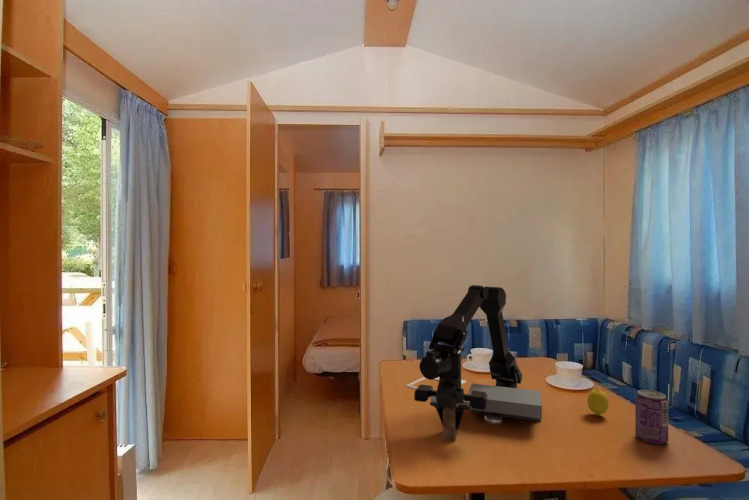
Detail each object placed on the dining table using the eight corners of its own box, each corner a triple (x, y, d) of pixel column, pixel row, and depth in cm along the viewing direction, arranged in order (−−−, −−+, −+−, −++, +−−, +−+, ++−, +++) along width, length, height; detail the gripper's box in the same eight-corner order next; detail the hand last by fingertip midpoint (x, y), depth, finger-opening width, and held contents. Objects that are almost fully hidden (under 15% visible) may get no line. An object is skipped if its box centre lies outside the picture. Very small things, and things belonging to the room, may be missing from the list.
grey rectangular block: (540, 416, 121) (540, 390, 121) (541, 433, 110) (541, 405, 110) (471, 407, 128) (471, 383, 128) (466, 422, 117) (466, 396, 116)
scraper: (464, 414, 122) (463, 388, 122) (454, 441, 105) (454, 411, 105) (454, 413, 123) (453, 387, 123) (442, 439, 106) (442, 409, 106)
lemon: (607, 413, 122) (607, 387, 122) (609, 421, 117) (609, 393, 117) (586, 410, 125) (586, 384, 125) (587, 417, 120) (587, 390, 120)
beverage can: (662, 435, 108) (662, 390, 108) (672, 448, 101) (672, 400, 101) (632, 431, 111) (632, 387, 110) (639, 443, 104) (639, 397, 104)
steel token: (493, 416, 121) (493, 411, 121) (505, 423, 117) (505, 417, 117) (480, 419, 119) (480, 414, 119) (492, 426, 115) (492, 421, 115)
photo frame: (466, 380, 151) (441, 393, 138) (466, 383, 151) (441, 397, 138) (432, 372, 161) (406, 384, 147) (432, 375, 161) (406, 387, 147)
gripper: (408, 375, 104) (408, 436, 104) (483, 383, 98) (483, 448, 98) (419, 363, 115) (419, 418, 115) (487, 370, 108) (487, 428, 108)
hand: (450, 428), depth 109 cm, fingers closed on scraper, 3 cm apart
